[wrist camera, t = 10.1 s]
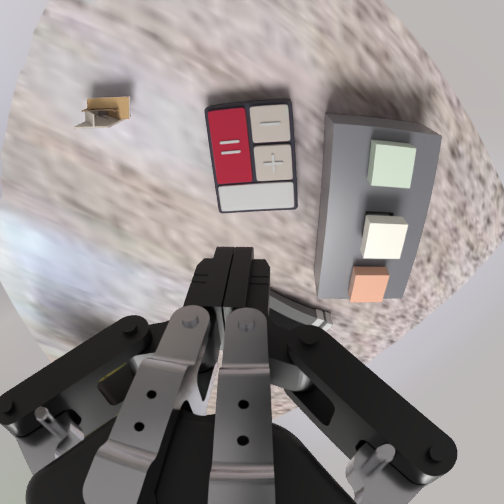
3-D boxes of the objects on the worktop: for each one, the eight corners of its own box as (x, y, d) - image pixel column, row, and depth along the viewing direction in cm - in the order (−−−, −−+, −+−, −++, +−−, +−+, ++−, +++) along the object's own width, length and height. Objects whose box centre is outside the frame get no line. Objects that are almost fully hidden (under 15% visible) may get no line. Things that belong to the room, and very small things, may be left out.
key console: (325, 113, 39) (333, 123, 33) (420, 123, 37) (441, 136, 32) (313, 270, 53) (317, 298, 48) (391, 271, 52) (402, 298, 46)
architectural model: (98, 94, 39) (71, 104, 33) (140, 93, 39) (116, 101, 33) (99, 116, 41) (72, 128, 35) (139, 115, 41) (116, 128, 35)
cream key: (359, 202, 40) (370, 223, 35) (394, 204, 39) (408, 224, 35) (355, 234, 42) (363, 258, 38) (388, 235, 42) (399, 258, 38)
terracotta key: (349, 252, 46) (355, 275, 42) (380, 252, 46) (389, 275, 41) (344, 278, 49) (349, 302, 44) (374, 278, 49) (381, 301, 44)
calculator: (291, 100, 35) (298, 212, 43) (290, 98, 39) (296, 199, 46) (202, 108, 36) (218, 216, 44) (209, 105, 40) (223, 204, 48)
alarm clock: (284, 370, 66) (214, 351, 61) (283, 353, 69) (216, 333, 65) (332, 324, 57) (253, 297, 52) (328, 306, 60) (253, 278, 56)
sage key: (363, 132, 36) (376, 144, 31) (400, 136, 36) (416, 148, 31) (360, 169, 39) (371, 185, 34) (395, 171, 38) (409, 188, 34)
